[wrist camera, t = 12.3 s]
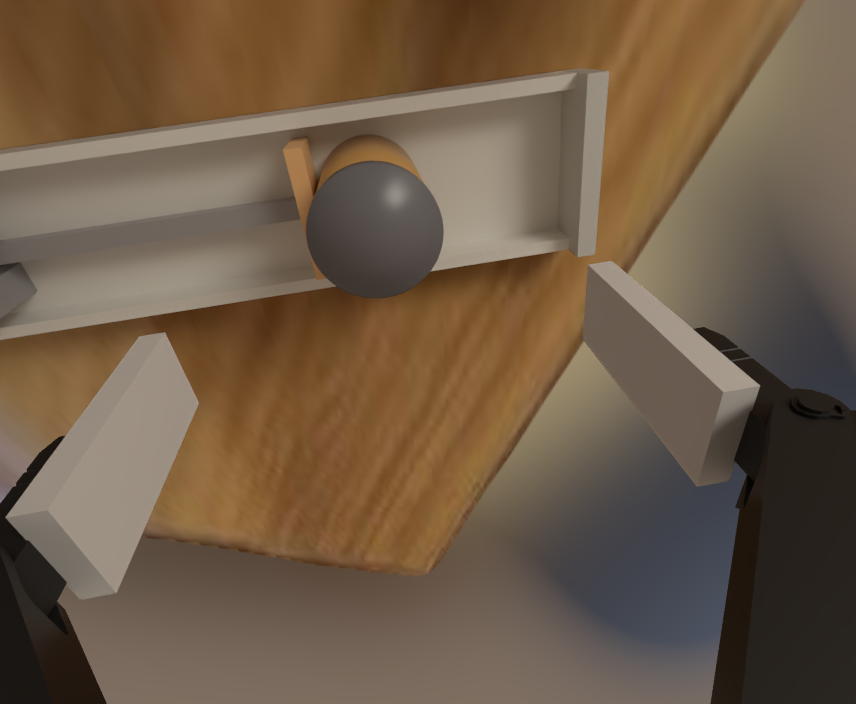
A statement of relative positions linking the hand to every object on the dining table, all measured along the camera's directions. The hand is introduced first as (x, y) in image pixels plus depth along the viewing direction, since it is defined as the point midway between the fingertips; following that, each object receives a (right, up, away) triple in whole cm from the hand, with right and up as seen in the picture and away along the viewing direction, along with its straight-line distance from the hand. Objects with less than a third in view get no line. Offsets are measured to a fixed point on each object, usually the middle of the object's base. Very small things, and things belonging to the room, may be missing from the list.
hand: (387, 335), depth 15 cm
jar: (-2, +10, +16) cm, 19 cm away
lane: (-8, +9, +16) cm, 21 cm away
